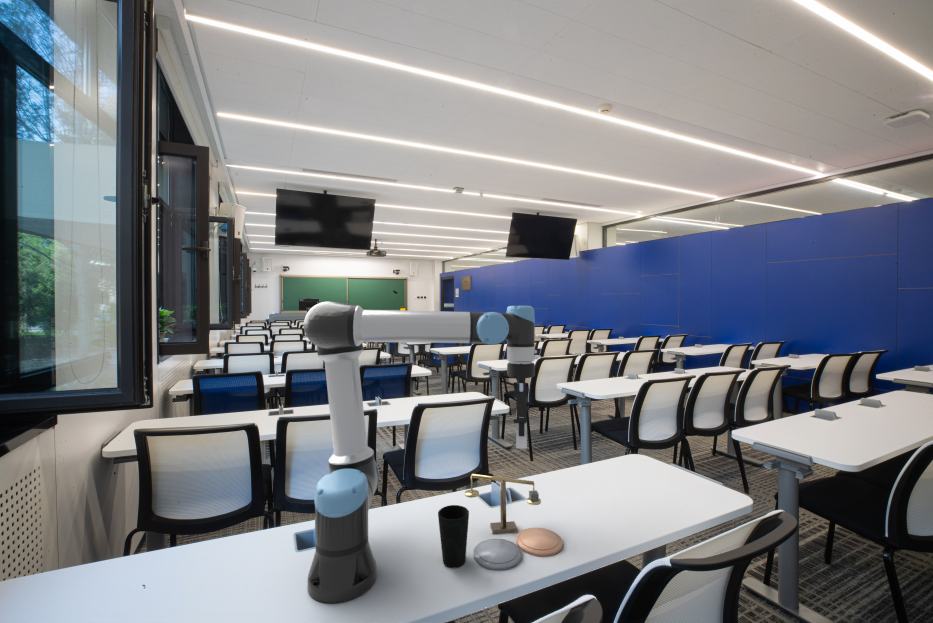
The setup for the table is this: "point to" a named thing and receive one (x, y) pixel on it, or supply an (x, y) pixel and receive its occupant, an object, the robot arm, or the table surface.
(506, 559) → the dish near
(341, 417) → the robot arm
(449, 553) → the cup
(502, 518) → the balance
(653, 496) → the table surface
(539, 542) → the dish far
